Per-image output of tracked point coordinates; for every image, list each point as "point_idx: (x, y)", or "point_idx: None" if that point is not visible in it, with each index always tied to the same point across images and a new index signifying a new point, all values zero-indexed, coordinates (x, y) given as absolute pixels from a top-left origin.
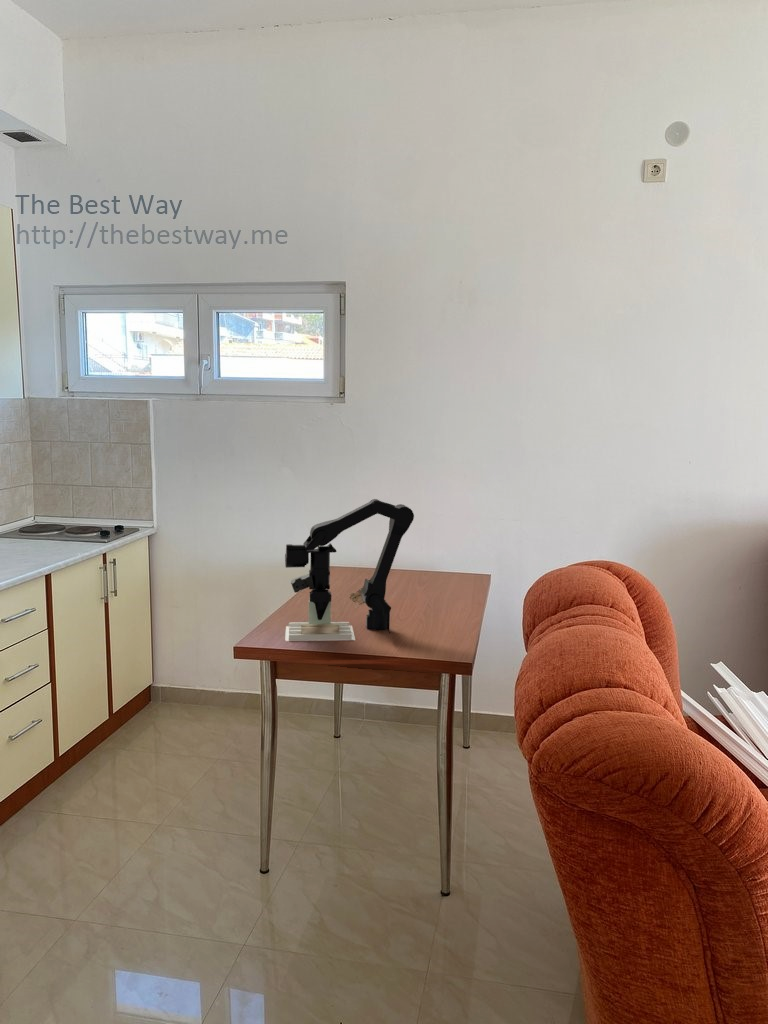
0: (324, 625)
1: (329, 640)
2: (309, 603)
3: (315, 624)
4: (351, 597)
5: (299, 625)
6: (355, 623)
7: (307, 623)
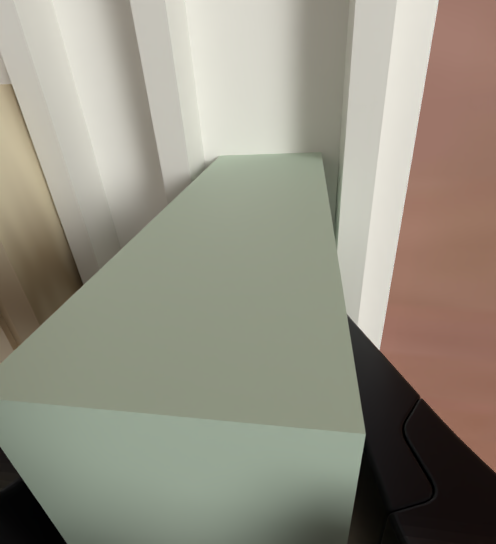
0: (22, 334)
1: None
2: (24, 363)
3: (8, 263)
4: None
5: (350, 35)
6: (486, 456)
7: (346, 149)
